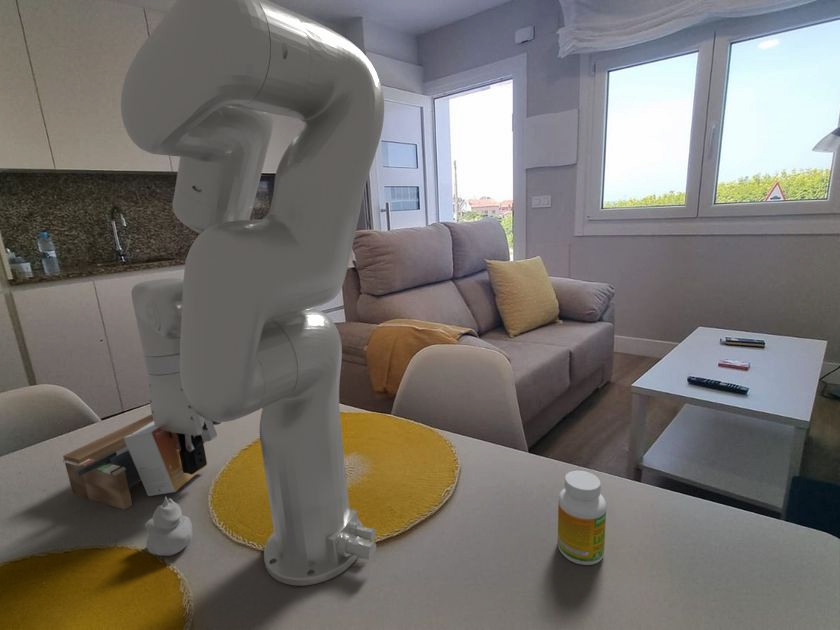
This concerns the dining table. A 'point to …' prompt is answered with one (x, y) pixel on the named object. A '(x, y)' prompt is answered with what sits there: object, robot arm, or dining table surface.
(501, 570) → the dining table surface
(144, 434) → the small box
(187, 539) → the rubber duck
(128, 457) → the pad
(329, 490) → the robot arm
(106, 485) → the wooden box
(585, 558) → the supplement bottle
